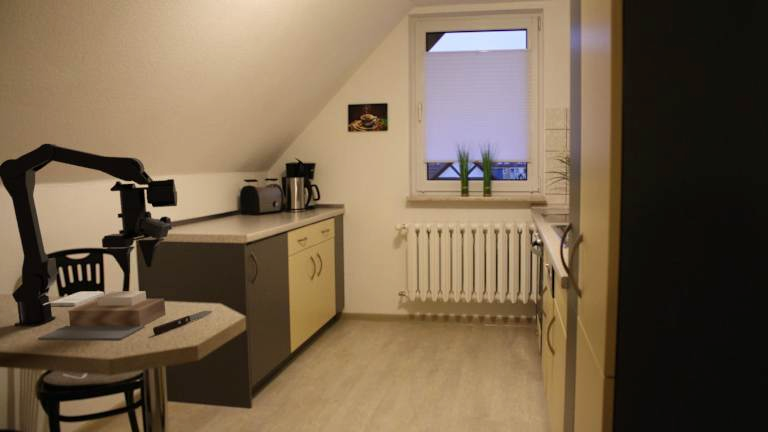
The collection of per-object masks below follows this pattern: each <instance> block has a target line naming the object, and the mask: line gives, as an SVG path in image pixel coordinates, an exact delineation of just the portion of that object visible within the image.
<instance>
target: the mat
mask: <svg viewBox="0 0 768 432" xmlns="http://www.w3.org/2000/svg"><path fill="white" fill-rule="evenodd" d="M144 328H145V326H70V325H64V326H63V327H60V328H58V329H55V330H53V331H50V332H48V333H46V334H43V335H41V336H39V337H38V340H77V341H78V340H81V341H82V340H84V341H85V340H87V341H88V340H89V341H90V340H91V341H94V340H97V341H98V340H99V341H102V340H103V341H105V340H106V341H107V340H109V341H113V340H114V341H117V340H118V341H120V340H123V339H125V338H127V337H129V336H131V335H134V334H136V333H137V332H138V331H140V330H143V329H144Z"/></svg>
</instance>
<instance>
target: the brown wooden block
mask: <svg viewBox="0 0 768 432" xmlns="http://www.w3.org/2000/svg"><path fill="white" fill-rule="evenodd" d="M165 304H166V301H165V298H146V300H143V301H141V302H139V303H137V304H134V305H126V306H98V301H97V299H93V301H92V300H91V301H90V302H89V301H88V302H86V303H83V304H81V305H80V306H79V305H78V306H77V307H74V308H71V309H68V318H69V326H144V327H145V326H146V325H149V324H150V323H152V322H154V321H156V320H157V319H160V318H162V317H163V316H164V317H165V316H166V305H165Z"/></svg>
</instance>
